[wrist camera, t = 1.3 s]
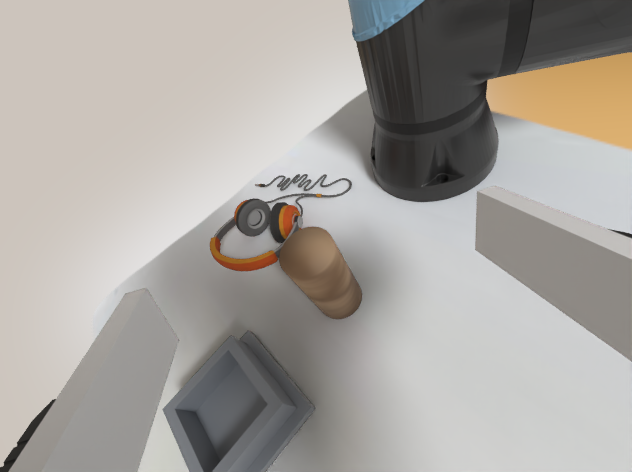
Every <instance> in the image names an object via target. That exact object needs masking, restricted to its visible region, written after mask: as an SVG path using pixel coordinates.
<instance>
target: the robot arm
mask: <svg viewBox="0 0 632 472" xmlns="http://www.w3.org/2000/svg"><path fill="white" fill-rule="evenodd" d="M348 1H349V7H350V12H351V19H352V24H353V29H352V35H353V37H354V40H355V41H356V43H357V48H358V52H359V56H360V60H361V64H362V68H363V72H364V77H365V81H366V85H367V89H368V93H369V98H370V102H371V106H372V109H373V114H374V118H375V125H374V132H373V140H372V149H371V165H372V168H373V172H374V176H375V178H376V180H377V182H378V184H379V185H380V186H381V187H382V188H383V189H384V190H385V191H387V192H388V193H390V194H392V195H394V196H396V197H398V198H402V199H405V200H410V201H420V202H428V201H438V200H443V199H448V198H451V197H454V196H457V195H460V194H462V193H464V192H466V191H468V190H470V189H472V188H473V187H475V186H476V185H478V184H479V183H480V182H481V181H483V180H484V179H485V178H486V177H487V175H488V174H489V173H490V172H491V170H492V168H493V166H494V164H495V161H496V157H497V150H498V133H497V130H496V127H495V125H494V121H493V118H492V114H491V111H490V108H489V105H488V102H487V100H486V90H487V80H488V79H493V78H497V77H501V76H506V75H511V74H516V73H522V72H527V71H532V70H537V69H542V68H548V67H553V66H558V65H564V64H569V63H574V62H579V61H585V60H590V59H595V58H600V57H605V56H611V55H616V54H621V53H627V52H632V0H348ZM475 250H476V251H478V252H479V253H481V254H482V255H483V256H485V257H486V258H488V259H489V260H490V261H492V262H493V263H495V264H496V265H497V266H499V267H500V268H502V269H503V270H504V271H506V272H507V273H509V274H510V275H511V276H513V277H514V278H516V279H517V280H518V281H520V282H521V283H523V284H524V285H525V286H527V287H528V288H530V289H531V290H532V291H534V292H535V293H537V294H538V295H539V296H541V297H542V298H544V299H545V300H546V301H548V302H549V303H551V304H552V305H553V306H555V307H556V308H558V309H559V310H560V311H562V312H563V313H565V314H566V315H567V316H569V317H570V318H572V319H573V320H574V321H576V322H577V323H579V324H580V325H581V326H583V327H584V328H586V329H587V330H588V331H590V332H591V333H593V334H594V335H595V336H597V337H598V338H600V339H601V340H602V341H604V342H605V343H607V344H608V345H609V346H611V347H612V348H614V349H615V350H616V351H618V352H619V353H621V354H622V355H623V356H625V357H626V358H628V359H629V360H630V361H632V234H629V233H625V232H620V231H615V230H610V229H606V228H603V227H601V226H598V225H595V224H593V223H590V222H588V221H585V220H582V219H580V218H577V217H575V216H572V215H570V214H567V213H564V212H562V211H559V210H557V209H554V208H551V207H549V206H546V205H544V204H541V203H538V202H536V201H533V200H531V199H528V198H525V197H523V196H520V195H518V194H515V193H513V192H510V191H507V190H505V189H502V188H500V187H497V186H493V187H489V188H486V189H482V190H479V191H477V211H476V244H475ZM178 342H179V339H178V337H177V336H176V334H175V333H174V331H173V329H172V328H171V326H170V325H169V323H168V321H167V320H166V318H165V317H164V315H163V314H162V312H161V310H160V309H159V307H158V306H157V304H156V302H155V301H154V299H153V298H152V296H151V294H150V293H149V291H148V290H147V288H143V289H140V290H137V291H133V292H130V293H126V294H125V295H124V297H123V298H122V300H121V301H120V303H119V304H118V306H117V307H116V309H115V311H114V312H113V314H112V315H111V317H110V318H109V320H108V321H107V323H106V324H105V326H104V327H103V329H102V330H101V332H100V333H99V335H98V336H97V338H96V339H95V341H94V342H93V344H92V345H91V347H90V349H89V350H88V352H87V353H86V355H85V356H84V358H83V359H82V361H81V362H80V364H79V365H78V367H77V368H76V370H75V371H74V373H73V374H72V376H71V377H70V379H69V380H68V382H67V384H66V385H65V387H64V388H63V390H62V391H61V393H60V394H59V396H58V397H57V399H54V400H52V401H51V402H50V403H49V404H48V405H47V406H46V407H45V408H44V409H43V410H42V411H41V412H40V413H39V414H38V415H37V417H36V418H35V419H34V420H33V421H32V422H31V423H30V425H29V426H28V428H27V429H26V431H25V432H24V434H23V435H22V437H21V438H20V439H19V441H18V442H17V447H15V448H13V450H12V451H11V453H10V454H9V455H8V457H7V458H6V460H5V461H4V466H3V467H0V472H137V471H138V468H139V465H140V462H141V458H142V455H143V452H144V449H145V446H146V443H147V439H148V436H149V433H150V430H151V427H152V424H153V421H154V417H155V414H156V411H157V408H158V405H159V402H160V398H161V395H162V392H163V389H164V386H165V383H166V380H167V376H168V373H169V370H170V367H171V364H172V361H173V357H174V354H175V351H176V348H177V345H178Z"/></svg>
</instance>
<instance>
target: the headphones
mask: <svg viewBox="0 0 632 472" xmlns="http://www.w3.org/2000/svg"><path fill="white" fill-rule="evenodd" d="M297 176H298V177H297ZM299 176H300V174H298V175H296V176H295V177H294V178H293V179H292V181H291V182H290V183H289V184H288V185H287V186H286V187H285V188H284V189H282V188H283V187H284V186H285V185H286V184H287V183H288V182H289V181H290V178H287V179H286V180H285V181H284V179H285V176H278V177H276V178H275V179H274V180H273V181H272V182H271V183H269V184H267V185H265V184H255V186H260V187H265V186H269V185H270V184H272V183H273V182H274V181H275V180H276V179H277V178H279V177H284V178H283V180H282V181H281V182H280V183H279V184H278V185H277V187H281V186H282V185H283V184H284V183H285V182H286V181H287V180H288V181H287V182H286V183H285V184H284V185H283V186H282V187H281V188H280V190H285V189H286V188H287V187H288V186H289V185H290V184H291V183H292V182H293V183H297V182H298V181H299V180H301V178H302V177H304V176H306V177H305V178H304V179H303V180H302V181H301V182H300V183H299V185H298V187H302V186H303V185H304V184H305V183H306V182H308V181H309V183H308V184H307V185H306V186H305V187H304V190H305V191H307V190H310V189H312V188H313V187H314V186H315V185H316V184H317V183H318V182H319V181H320V180H321V179H322V178H323V177H324V176H325V177H324V178H323V180H322V182H321V184H320V185H321V186H322V187H327V186H330V185H332V184H334V183H336V182H338V181H340V180H347V181H349V182H350V187H349V189H348V190H346V191H345V192H343V193H341V194H337V195H322V194H304V193H303V194H292V195H287V196H283V197H280V198H277V199H275V200H272V201H268V202H264V201H262V200H259V199H249V200H246V201H243V202H241V203H240V204H239V205H238V206H237V208H236V210H235V215H234V217H233V218H231V219H230V220H229V221H228V222H227V223H225V224H224V225H223V226H222V227H221V228H220V229H219V230H218V231H217V233H216V234H215V236H214V237H213V238H211V241H210V250H211V253H212V255H213V257H214V259H215V260H216V261H217V262H218V263H220V264H221V265H222V266H224V267H226V268H229V269H232V270H236V271H253V270H258V269H261V268H264V267H267V266H269V265H271V264H273V263H275V262H276V261H277V260H278V258H279V255H280V250H281V248H282V246H283V244H284V243H285V241H286V240H287V239H288V238H289V237H290V236H291V235H292V234H293V233H295V232H296V231H298V230H301V227H302V224H303V220H302V214H303V209H302V206H301V205H300V204H299V203H298V202H297V201H298V200H299V199H300V198H303V197H308V196H317V197H336V196H340V195H343V194H345V193H346V192H348V191H349V190H350V189H351V186H352V183H351V181H350V180H348V179H346V178H342V179H339V180H336V181H334V182H332V183H330V184H328V185H322V183H323V181H324V180H325V178H326V176H327V175H326V174H325V175H323V176H322V177H320V178H319V179H318V181H317V182H316V183H315V184H314V185H313V186H311V187H310V188H309V189H305V188H306V187H307V186H308V185H309V184H310V183H311V180H307V181H305V182H304V183H303V184H302V185H301V186H300V184H301V183H302V182H303V181H304V180H305V179H306V178H307V176H308V175H307V174H304V175H303V176H301V177H300V178H299ZM296 177H297V178H296ZM295 178H296V179H295ZM298 178H299V179H298ZM294 179H295V180H294ZM297 179H298V180H297ZM293 180H294V181H293ZM296 180H297V181H296ZM283 181H284V182H283ZM295 181H296V182H295ZM282 182H283V183H282ZM281 183H282V184H281ZM280 184H281V185H280ZM296 195H304V196H301V197H299V198H297V199H296V203H297V204H298V205H299V206H300V208H301V216H300V213H299V211H298V209H297V208H296V207H295V206H293V205H288V204H287V203H285V202H282V203H276V204H275V205H274V207H273V208H272V211H270V207H269V206H268V204H267V203H271V202H274V201H276V200H279V199H281V198H285V197H290V196H296ZM269 222H270V229H271V233H272V235H273V237H274V239H275V240H276V241H277V242H279V243H283V244H282V245H281V246H279V247H278V248H277V249H276V250H274V251H269V252H267V253H265V254H262V255H260V256H257V257H254V258H249V259H234V258H229V257H226V256H224V255H222V254H221V253H220V245H221V243H220V241H221V239H222V237H223V236H224V235H225V234H226V233H227V232H228V231H229V230H230V229H231V228H232V227H233V226H235V225H237V227H238V229H239V230H240V231H241V232H242V233H244V234H245V235H248V236H256V235H259V234H260V233H262V232H263V231H264V230H265V229H266V228H267V226H268V225H269Z"/></svg>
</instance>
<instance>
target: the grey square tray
mask: <svg viewBox="0 0 632 472" xmlns="http://www.w3.org/2000/svg"><path fill="white" fill-rule="evenodd" d="M314 409H315V407H314V406H313V405H312V403H311V402H310V401H309V400H308V399H307V397H306V396H305V395H304V394H303V393H302V391H301V390H300V389H299V388H298V387H297V385H296V384H295V383H294V382H293V381H292V380H291V378H290V377H289V376H288V375H287V374H286V372H285V371H284V370H283V369H282V368H281V366H280V365H279V364H278V363H277V362H276V360H275V359H274V358H273V357H272V356H271V354H270V353H269V352H268V351H267V350H266V349H265V347H264V346H263V345H262V344H261V343H260V341H259V340H258V339H257V338H256V337H255V335H254V334H253V333H252V332H250V331H247V332H246V333H245V334H244V335H243V336H242V338H241V339H240V340H239V339H237V338H235V337H233V336H231V335H230V337H229V338H228V339H227V340H226V341H225V342H224V343H223V344H222V345H221V346H220V347H219V349H218V350H217V351H216V352H215V353H214V354H213V355H212V356H211V357H210V358H209V359H208V361H207V362H206V363H205V364H204V365H203V366H202V367H201V368H200V369H199V370H198V371H197V373H196V374H195V375H194V376H193V377H192V378H191V379H190V380H189V381H188V382H187V383H186V385H185V386H184V387H183V388H182V389H181V390H180V391H179V392H178V393H177V394H176V395H175V396H174V398H173V399H172V400H171V401H170V402H169V403H168V404H167V405H166V406H165V407H164V408H163V412H164V414H165V416H166V418H167V421H168V423H169V425H170V428H171V430H172V432H173V435H174V437H175V439H176V442H177V444H178V446H179V449H180V451H181V453H182V456H183V458H184V460H185V462H186V465H187V467H188V469H189V472H266V470H267V469H268V468H269V467H270V465H271V464H272V463H273V462H274V460H275V459H276V458H277V456H278V455H279V454H280V453H281V451H282V450H283V449H284V448H285V446H286V445H287V444H288V443H289V441H290V440H291V439H292V437H293V436H294V435H295V434H296V432H297V431H298V430H299V429H300V427H301V426H302V425H303V423H304V422H305V421H306V420H307V418H308V417H309V416H310V415H311V413H312V412H313V411H314Z"/></svg>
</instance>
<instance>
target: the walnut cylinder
mask: <svg viewBox="0 0 632 472" xmlns="http://www.w3.org/2000/svg"><path fill="white" fill-rule="evenodd" d="M279 262H280V266H281V268H282V269H283V271H284V272H285V273H286V274H287V275H288V276H289V277H290V278H291V279H292V280H293V281H294V282H295V283H296V284H297V286H298V287H299V288H300V289H301V290H302V291H303V292H304V293H305V294H306V295H307V296H308V297H309V298H310V299H311V300H312V301H313V302H314V304H315V305H316V306H317V307H318V308H319V309H320V310H321V311H322V312H323V313H324V314H325V315H326V316H328V317H330V318H333V319H343V318H346V317H348V316H350V315H352V314H353V313H354V312H355V311H356V310H357V309H358V307H359V305H360V303H361V299H362V292H361V288H360V286H359V284H358V283H357V281H356V279H355V277H354V276H353V274H352V272H351V270H350V269H349V267H348V265H347V263H346V261H345V260H344V258H343V256H342V254H341V253H340V251H339V249H338V247H337V246H336V244H335V242H334V240H333V239H332V237H331V235H330V234H329V233H328V232H327V231H326V230H324V229H322V228H319V227H307V228H303V229H301V230H298V231H296V232H295V233H293V234H292V235H291V236H290V237H289V238H288V239H287V240H286V241H285V243H284V244H283V246H282V248H281V250H280V255H279Z"/></svg>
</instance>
